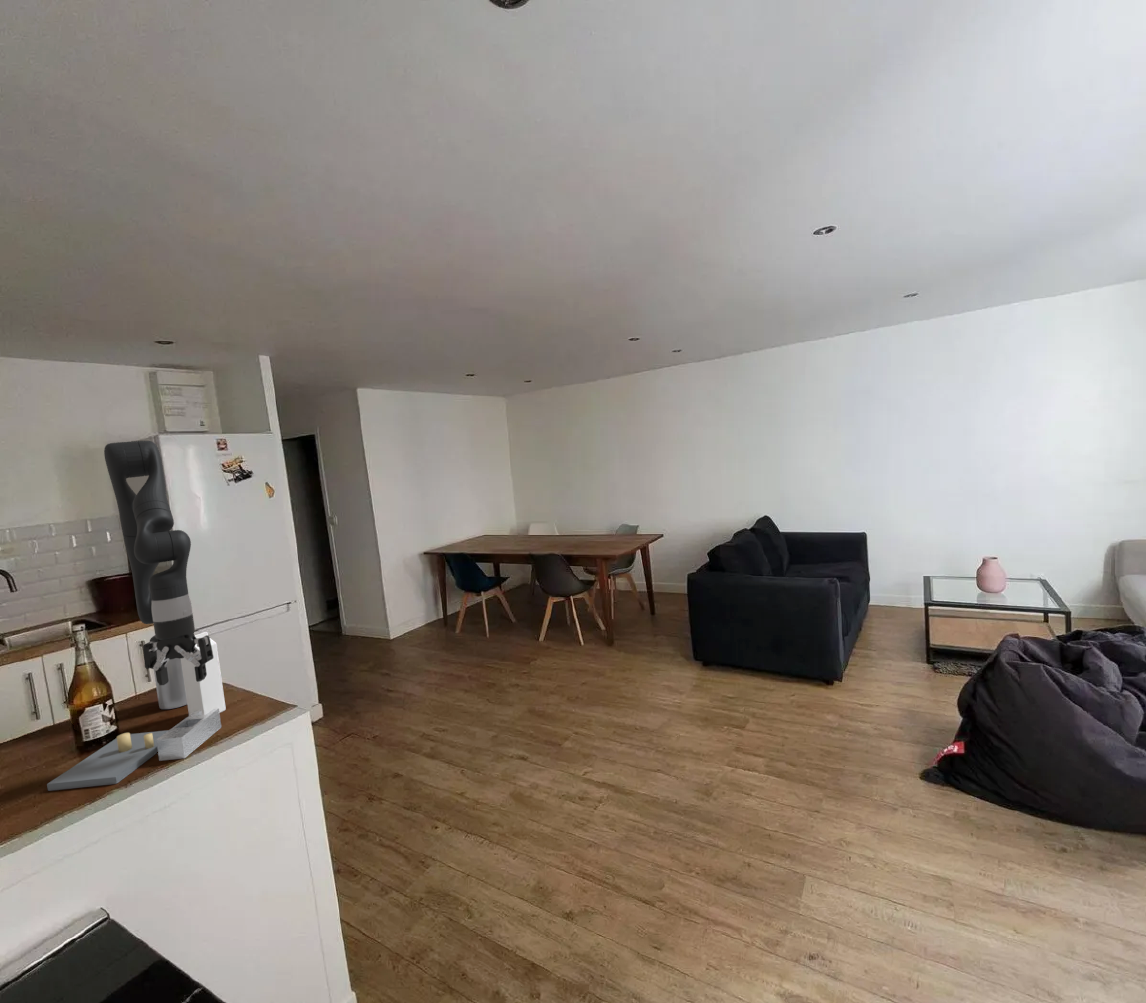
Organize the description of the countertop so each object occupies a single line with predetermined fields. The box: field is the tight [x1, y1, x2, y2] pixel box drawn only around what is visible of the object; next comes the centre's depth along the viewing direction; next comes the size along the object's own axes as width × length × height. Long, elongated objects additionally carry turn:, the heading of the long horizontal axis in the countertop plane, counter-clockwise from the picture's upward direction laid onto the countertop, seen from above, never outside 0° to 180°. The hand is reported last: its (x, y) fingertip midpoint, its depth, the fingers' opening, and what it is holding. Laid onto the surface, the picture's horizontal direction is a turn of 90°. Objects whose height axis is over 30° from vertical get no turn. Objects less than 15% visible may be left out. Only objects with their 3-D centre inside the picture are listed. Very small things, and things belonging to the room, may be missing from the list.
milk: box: [181, 631, 227, 716], centre depth 143 cm, size 6×6×22 cm
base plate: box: [46, 729, 170, 791], centre depth 123 cm, size 20×14×5 cm
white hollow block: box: [156, 708, 222, 762], centre depth 128 cm, size 14×6×5 cm, turn 3°
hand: (182, 682), depth 127 cm, fingers open, 8 cm apart
